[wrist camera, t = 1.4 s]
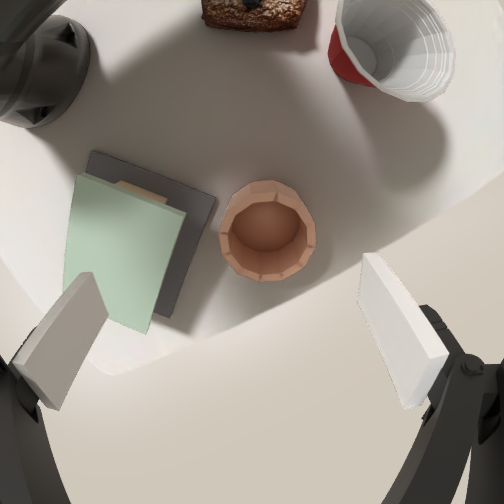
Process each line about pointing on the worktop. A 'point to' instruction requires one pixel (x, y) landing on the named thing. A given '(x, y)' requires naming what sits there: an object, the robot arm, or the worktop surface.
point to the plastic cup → (393, 47)
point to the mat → (168, 194)
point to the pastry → (253, 14)
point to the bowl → (267, 231)
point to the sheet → (120, 247)
